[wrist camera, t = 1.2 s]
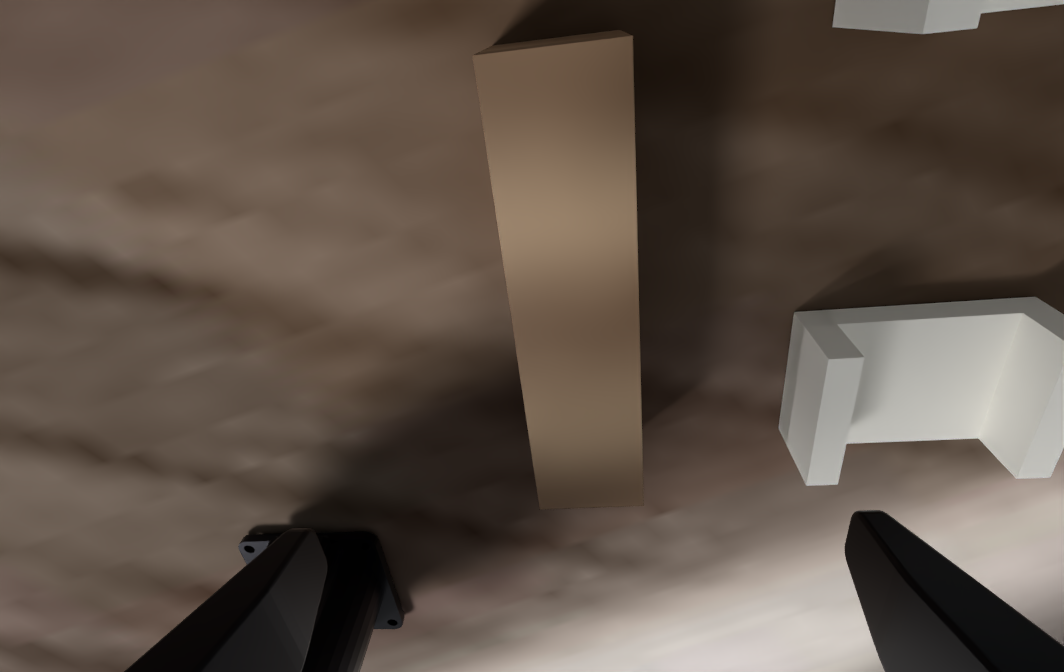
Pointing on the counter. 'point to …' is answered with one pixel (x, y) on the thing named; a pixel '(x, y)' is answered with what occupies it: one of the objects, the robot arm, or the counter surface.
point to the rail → (570, 256)
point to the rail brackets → (926, 341)
